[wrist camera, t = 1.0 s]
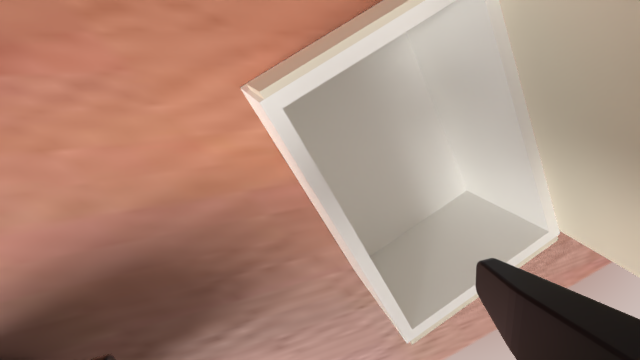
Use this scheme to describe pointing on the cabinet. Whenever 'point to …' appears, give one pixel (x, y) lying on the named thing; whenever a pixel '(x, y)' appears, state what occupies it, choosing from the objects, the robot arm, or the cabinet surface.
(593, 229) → the carton flap
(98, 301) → the cabinet surface
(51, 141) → the cabinet surface
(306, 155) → the carton
